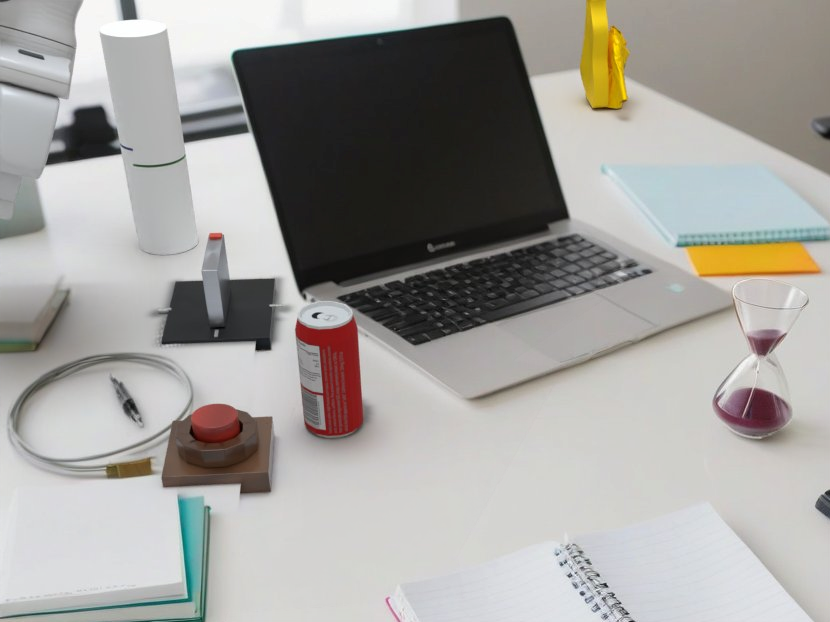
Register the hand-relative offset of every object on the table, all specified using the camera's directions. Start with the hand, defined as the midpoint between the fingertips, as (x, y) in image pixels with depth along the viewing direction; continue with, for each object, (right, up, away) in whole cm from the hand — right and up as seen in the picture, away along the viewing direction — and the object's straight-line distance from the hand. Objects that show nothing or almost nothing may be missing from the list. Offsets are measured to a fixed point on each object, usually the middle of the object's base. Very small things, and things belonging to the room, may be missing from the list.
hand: (0, 217), depth 110 cm
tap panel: (+17, -7, +15) cm, 24 cm away
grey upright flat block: (+17, -6, +15) cm, 23 cm away
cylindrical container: (+7, +5, +31) cm, 32 cm away
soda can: (+32, -20, 0) cm, 38 cm away
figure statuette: (+64, +38, +78) cm, 108 cm away
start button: (+23, -21, -9) cm, 32 cm away
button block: (+23, -24, -6) cm, 34 cm away
